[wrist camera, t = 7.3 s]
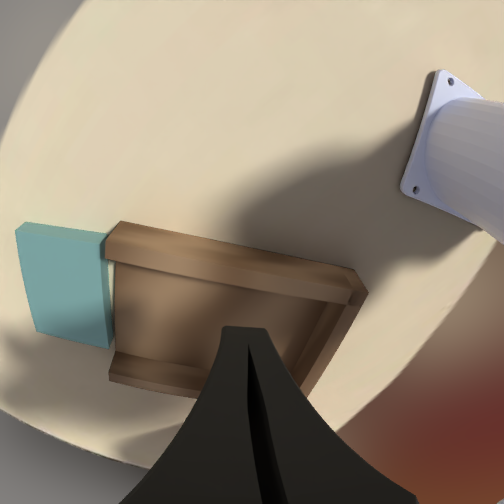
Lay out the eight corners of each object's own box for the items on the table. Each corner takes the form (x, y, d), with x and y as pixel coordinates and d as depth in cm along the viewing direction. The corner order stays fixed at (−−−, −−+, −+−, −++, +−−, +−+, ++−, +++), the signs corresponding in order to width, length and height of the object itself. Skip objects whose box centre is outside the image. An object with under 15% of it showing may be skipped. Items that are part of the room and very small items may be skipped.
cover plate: (110, 230, 17) (99, 243, 15) (115, 331, 20) (108, 349, 19) (29, 218, 16) (15, 230, 14) (45, 316, 19) (36, 331, 18)
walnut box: (354, 269, 19) (368, 292, 16) (294, 383, 23) (299, 408, 21) (120, 220, 16) (105, 240, 14) (117, 355, 21) (109, 380, 19)
